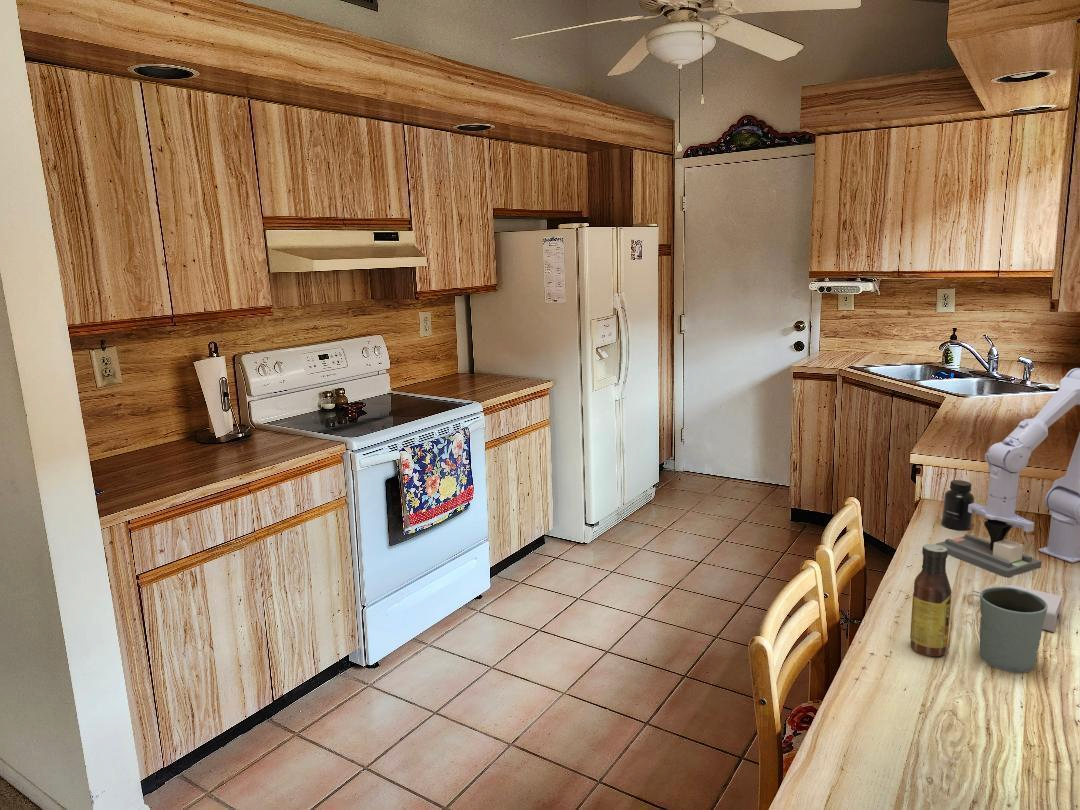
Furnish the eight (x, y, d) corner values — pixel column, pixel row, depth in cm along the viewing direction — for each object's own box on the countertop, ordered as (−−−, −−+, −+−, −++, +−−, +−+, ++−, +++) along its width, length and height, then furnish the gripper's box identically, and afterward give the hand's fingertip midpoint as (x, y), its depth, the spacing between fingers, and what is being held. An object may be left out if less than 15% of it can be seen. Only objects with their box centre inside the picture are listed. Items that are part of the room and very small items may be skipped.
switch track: (968, 540, 189) (969, 531, 188) (1041, 567, 173) (1042, 557, 172) (935, 549, 184) (936, 539, 184) (1006, 577, 168) (1007, 567, 168)
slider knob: (1004, 553, 176) (1006, 538, 176) (1021, 559, 173) (1023, 544, 172) (992, 556, 175) (993, 542, 174) (1009, 563, 171) (1010, 548, 170)
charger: (975, 595, 161) (1060, 616, 151) (965, 611, 154) (1053, 634, 144) (978, 574, 160) (1063, 594, 150) (967, 589, 153) (1056, 611, 143)
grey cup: (1038, 654, 137) (1046, 593, 135) (1041, 682, 129) (1049, 617, 126) (974, 640, 142) (980, 581, 140) (973, 666, 134) (979, 604, 131)
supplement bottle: (944, 529, 196) (948, 485, 194) (939, 520, 203) (943, 477, 200) (974, 531, 194) (978, 487, 192) (967, 522, 201) (972, 479, 198)
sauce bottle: (951, 659, 136) (961, 556, 132) (914, 656, 138) (923, 554, 133) (940, 641, 143) (949, 542, 138) (904, 638, 144) (912, 540, 140)
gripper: (961, 488, 178) (956, 542, 181) (1021, 507, 165) (1015, 565, 168) (981, 484, 181) (976, 537, 184) (1042, 502, 168) (1035, 559, 171)
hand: (996, 550), depth 176 cm, fingers closed
